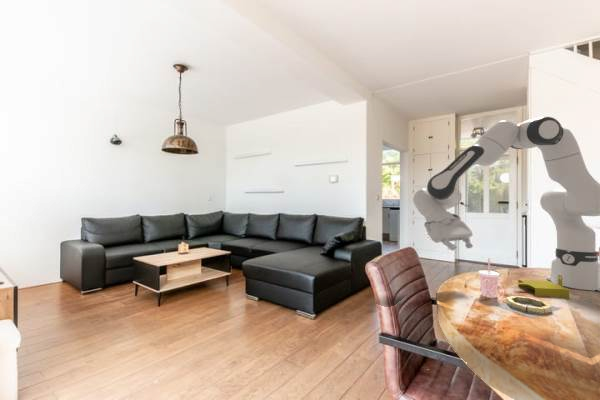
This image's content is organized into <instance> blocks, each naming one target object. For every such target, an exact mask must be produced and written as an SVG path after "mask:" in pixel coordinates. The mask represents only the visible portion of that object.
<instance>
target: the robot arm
mask: <svg viewBox="0 0 600 400" xmlns="http://www.w3.org/2000/svg"><path fill="white" fill-rule="evenodd" d="M536 147H537V148H538V150H540V152H541V154H542V159H543V162H544V165H545V169H546V171H547V175H548V177H549V179H550V180H552V181H553V182H555V183H558V184H559V185H560V186H561V188H556V189H552V190H547V191H545V192H544V193H543V194H542V195H541V197H540V202H539V203H540V207H541V208H542V209H543V210H544V211H545V212H547V214H548V215H549V216H550V217H551V219H552V221H553V223H554V226H555V230H556V242H557V243H556V248H555V251H554V253H555V257H556V258H555V259H553V260H552V261H551V265H550V266H551V267H550V275H548V276H546V280H547V281H551V282H553V283H555V284H558V275H561V276H562V287H565V288H571V289H577V290H582V291H583V290H584V291H595V290H598V291H597V292H600V263H599V257H600V251H598V250H596V242H597V241H596V236H597V235H596V231H595V230H594V229H593V228H592V227H590V226H589V225H587V224H586V223H585V222H584V219H583V218H582V217H600V183H599V182H598V181H597V180H596V179H595V178H594V177H593V176H592V175H591V173H590V171H589V170H588V168H587V166H586V163H585V160H584V157H583V155H582V151H581V149H580V146H579V143H578V141H577V139H576V137H575V136H574V134H573V133H572V131H571V130H570V129H568V128H564V127H563V126H562V124H561V123H560V122H559V120H557V119H556V118H555V117H551V116H539V117H536V118H532V119H527V120H525V121H523V122H520V123H515V122H512V121H509V120H500V121H497V122H496V123H494V124H493V125H492V126H491V127H490V128H488V129H487V130H486V131H485V132H484V133H483V134H482V135H481V136H480V137H479V138H478V140H476V141H475V143H474V144H472V145H471V146H469V147H468V148H467V149H465V150H464V151H463V152H462V153H461V154H459V155H458V156H457V157H456V158H455V159H454V160H453V161H452V162H451V163H449V165H447V166H446V167H445V169H443V170H442V171H440V172H439V173H438V172H437V173H436V174H435V175H433V176H432V177H431V178H430V179H429V180H428V182H427V186H426V187H427V188H420V189H419V190H418V191H416V192H415V193H414V195H413V198H412V203H413V204H414V206H415V208H416V209H417V211H418V212H419V214H420V215H422V216H423V217H424V220H425V222H424V227H425V230H426V232H427V234H428V236H429V237H430V239H431V240H432V242H434V243H437V244H438V243H442V244H443V245H444V246H446V247H447V248H448V249H449V250H450V251H451V252H452V251H456V250H457V246H456V245H455V244H454V243H452V242H455V241H456V242H458V241H462V243H463V242H464V243H465V245H464V246H465V247H466V248H467V249H472V248H473V246H474V245H473V244H472V243H471V239H470V238H472V236H473V232H472V230H471V228H470V227H469V226H468V225H467V224H466V223H465V222H464V221H463V220H462V217H461V216H460V215H458V214H455V213H452V212H449V211H447V210H449V209H451V208H453V207H455V206H457V205H458V204H459V203H460V202H461V200H462V193H461V191H460V189H459V187H458V186H457V183H458V181H459V180H460V178H461V177H462V176H463V175H465V174H466V172H468V171H469V170H470V169H471V168H472V167H474V166H475V165H478V166H484V167H487V166H492V165H493V164H494V163H496V162H498V161H499V160H500V159H502V157H503V156H504V154H506V152H507V151H508V150H509V149H510V148H512V149H515V150H523V149H533V148H536ZM559 278H560V279H561V277H559Z"/></svg>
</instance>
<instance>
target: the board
mask: <svg viewBox="0 0 600 400" xmlns="http://www.w3.org/2000/svg"><path fill="white" fill-rule="evenodd" d="M516 303H519V304H523V305H526V306H533V307H541V306H537V305H534V304H530V303H523V302H516ZM551 306H552V312H555V311H557V310H561V309H562V308H561V307H557V306H554V305H551ZM496 307H499V308H501V309H504V310H507V311H511V312H513V313H517V314H520V315H522V316H525V317H528V318H532V319H534V318H537V317H540V316H543V315H544V314H536V313H528V312H524V311H521V310H518V309H514V308H512V307H510V306H509V305H508V304H507V303H506V302H505V303H501V304H498V305H496Z"/></svg>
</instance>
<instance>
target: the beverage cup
mask: <svg viewBox="0 0 600 400" xmlns="http://www.w3.org/2000/svg"><path fill="white" fill-rule="evenodd" d="M487 261H488V262H487V263H488V267H487V269H488V270H478V274H479V282H480V295H481V296H482V297H486V298H495V299H496V298H497V297H498V290H499V277H500V273H499V272H497V271H493V270H492V271H491V258H489V257H488V259H487Z"/></svg>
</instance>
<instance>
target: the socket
mask: <svg viewBox="0 0 600 400" xmlns="http://www.w3.org/2000/svg"><path fill="white" fill-rule="evenodd" d="M505 301H506V302H505V303H507V304H508V305H509V306H510V307H512V308H514V309H518V310H521V311H524V312H528V313H536V314H543V315H546V314H547V315H548V314H550V313H553V311H552V306H553V305H552V304H550V303H548V302H547V301H545V300H541V299H538V298H534V297H529V296H523V295H522V296H520V295H519V296H518V295H512V296H508V297H506V299H505ZM516 302H523V303H530V304H534V305H537V306H541V307H533V306H526V305H523V304H519V303H516Z"/></svg>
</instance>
